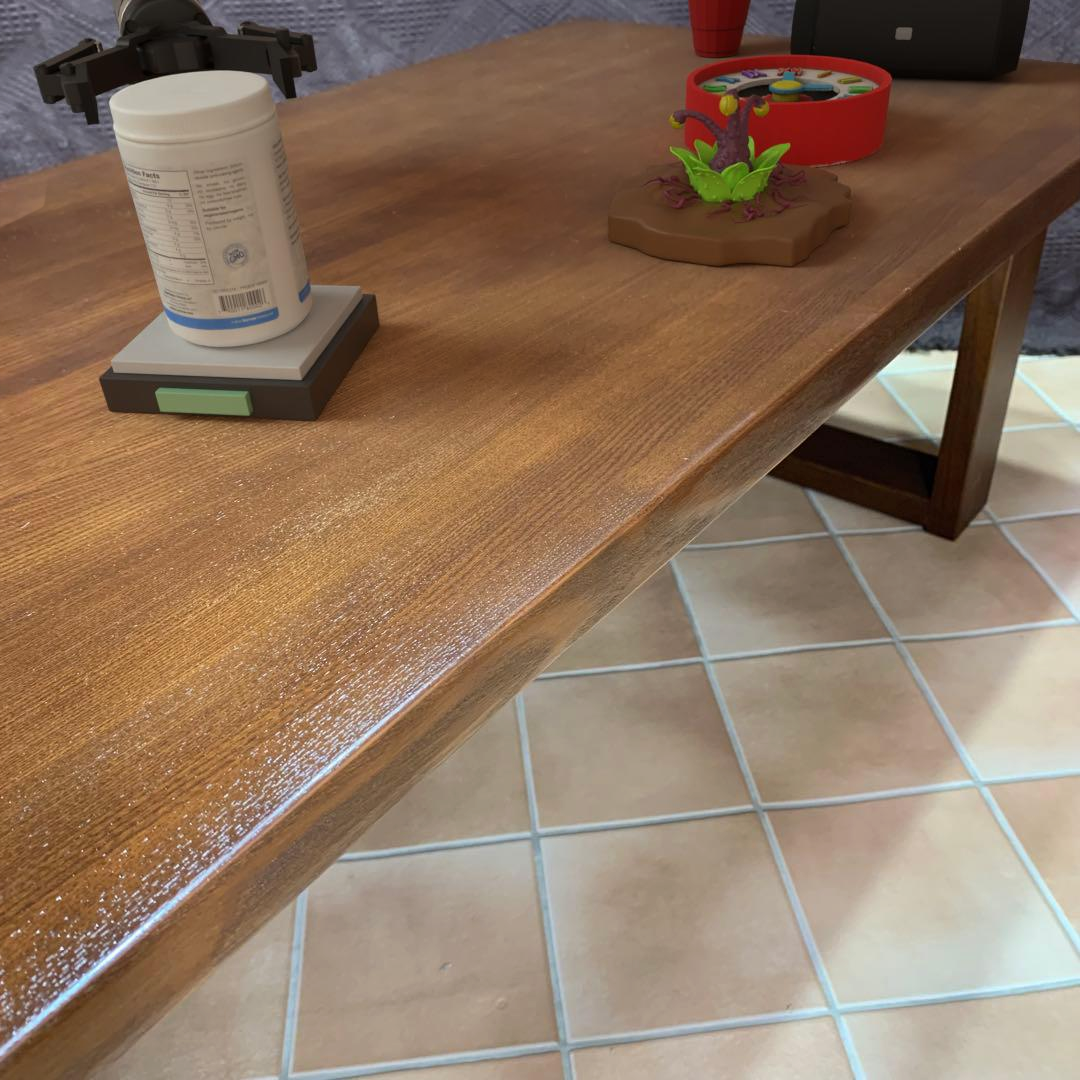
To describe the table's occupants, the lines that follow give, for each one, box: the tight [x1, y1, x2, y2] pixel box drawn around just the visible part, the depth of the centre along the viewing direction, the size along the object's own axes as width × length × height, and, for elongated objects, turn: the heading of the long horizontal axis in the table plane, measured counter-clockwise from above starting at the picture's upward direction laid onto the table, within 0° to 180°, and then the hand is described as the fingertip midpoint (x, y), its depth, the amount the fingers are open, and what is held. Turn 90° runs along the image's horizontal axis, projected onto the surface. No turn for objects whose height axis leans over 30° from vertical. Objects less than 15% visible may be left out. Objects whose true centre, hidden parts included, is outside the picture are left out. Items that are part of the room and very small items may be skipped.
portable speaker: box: [789, 0, 1031, 81], centre depth 126 cm, size 26×10×10 cm, turn 71°
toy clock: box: [684, 54, 893, 168], centre depth 109 cm, size 20×6×20 cm
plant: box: [607, 88, 852, 268], centre depth 88 cm, size 20×20×11 cm
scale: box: [98, 284, 381, 421], centre depth 72 cm, size 14×15×3 cm
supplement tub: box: [108, 71, 312, 347], centre depth 67 cm, size 10×10×15 cm
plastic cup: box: [687, 0, 752, 58], centre depth 139 cm, size 11×11×12 cm
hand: (190, 90), depth 75 cm, fingers open, 13 cm apart
